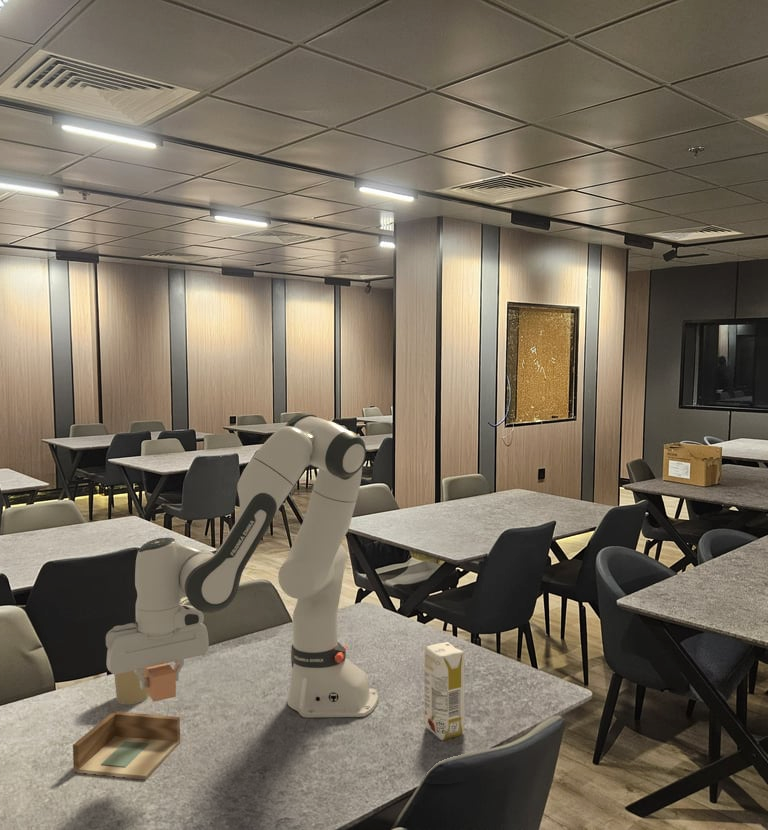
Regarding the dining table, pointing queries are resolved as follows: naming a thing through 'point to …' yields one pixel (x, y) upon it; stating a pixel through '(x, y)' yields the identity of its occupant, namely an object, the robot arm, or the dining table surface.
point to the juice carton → (444, 690)
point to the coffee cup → (129, 688)
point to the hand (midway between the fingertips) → (159, 684)
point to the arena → (127, 745)
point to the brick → (161, 682)
